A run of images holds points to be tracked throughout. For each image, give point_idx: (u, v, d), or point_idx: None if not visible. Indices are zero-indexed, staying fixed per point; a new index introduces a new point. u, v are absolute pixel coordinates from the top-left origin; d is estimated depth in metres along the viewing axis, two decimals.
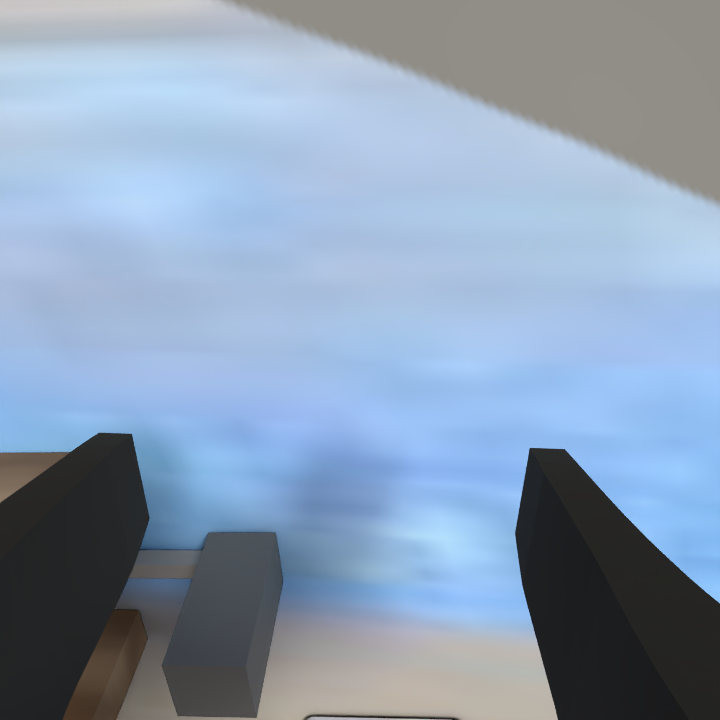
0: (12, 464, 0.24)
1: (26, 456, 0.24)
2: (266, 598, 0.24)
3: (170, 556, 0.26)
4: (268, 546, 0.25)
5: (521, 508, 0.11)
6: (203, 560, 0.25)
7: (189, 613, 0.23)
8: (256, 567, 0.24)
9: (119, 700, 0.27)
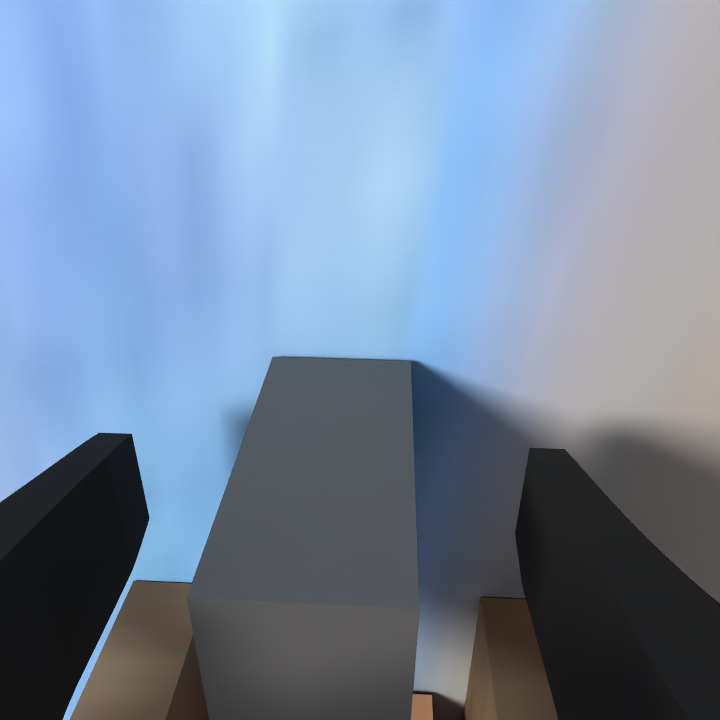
0: None
1: None
2: (289, 435, 0.10)
3: None
4: None
5: (521, 508, 0.11)
6: None
7: None
8: None
9: None
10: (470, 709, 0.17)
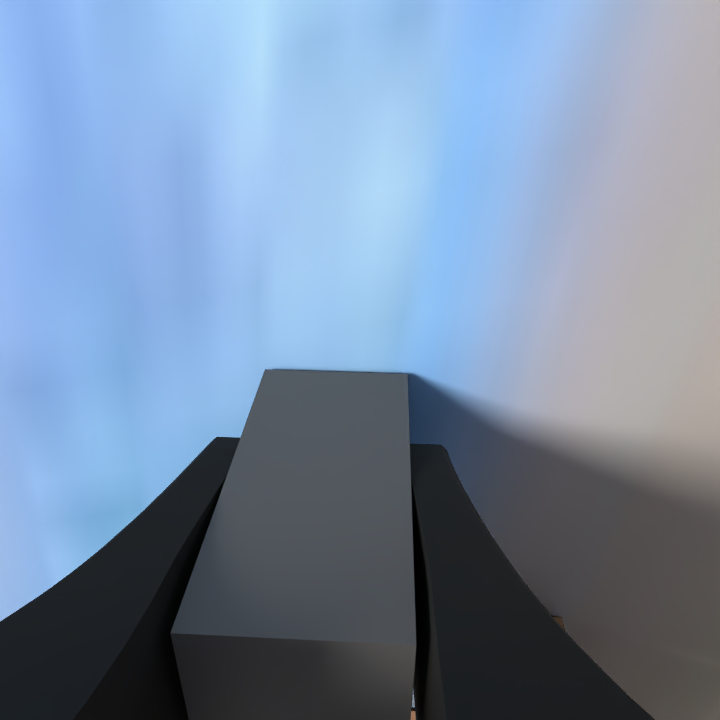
0: None
1: None
2: (281, 454, 0.10)
3: None
4: None
5: None
6: None
7: None
8: None
9: None
10: None
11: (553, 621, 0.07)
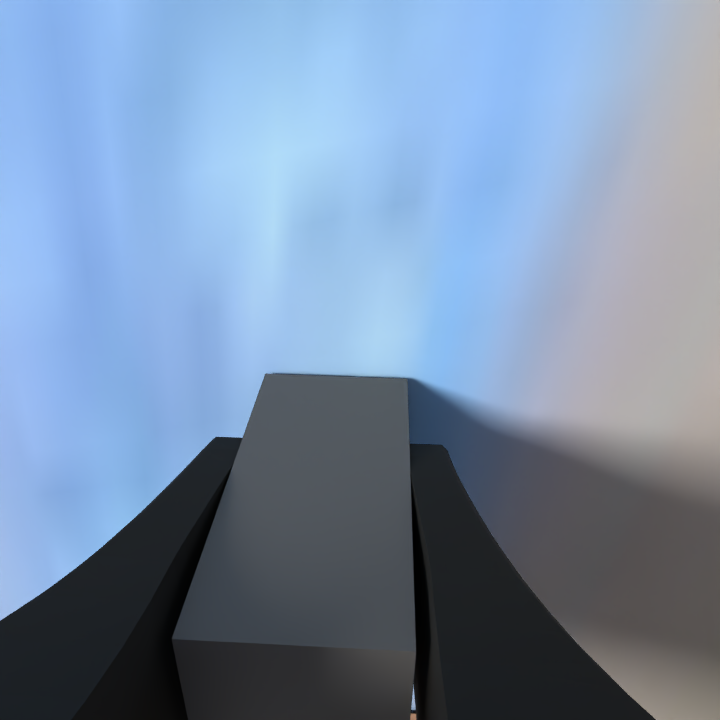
0: None
1: None
2: (282, 459, 0.10)
3: None
4: None
5: None
6: None
7: None
8: None
9: None
10: None
11: (554, 621, 0.07)
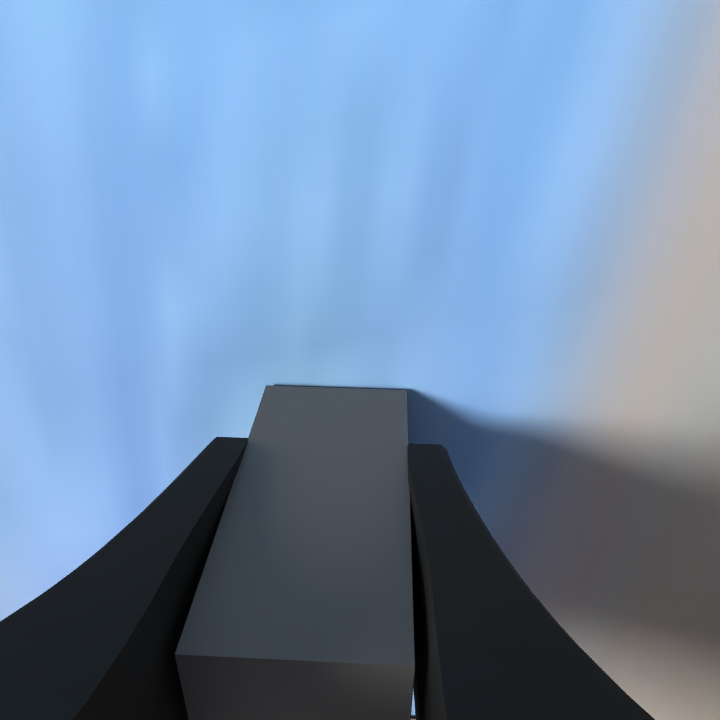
0: None
1: None
2: (282, 472, 0.10)
3: None
4: None
5: None
6: None
7: None
8: None
9: None
10: None
11: (554, 621, 0.07)
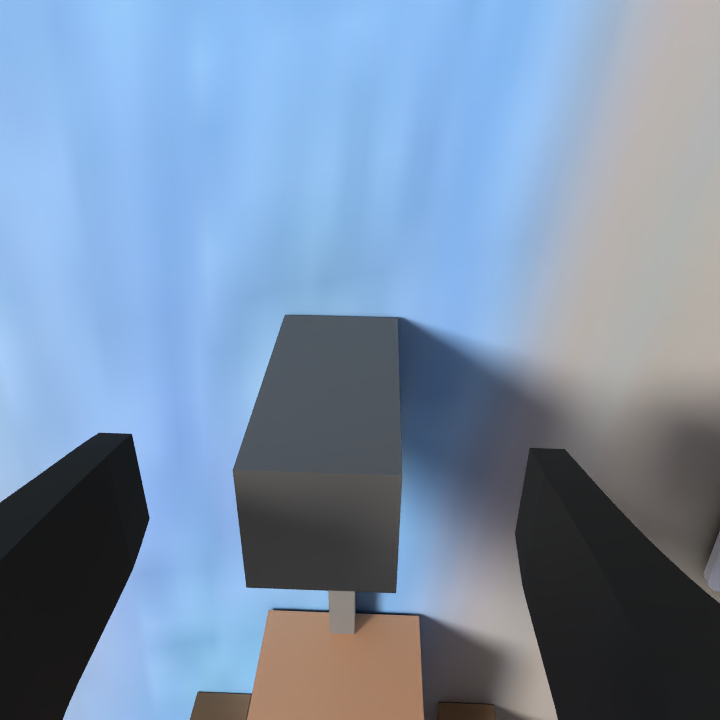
0: None
1: None
2: (302, 369, 0.13)
3: None
4: None
5: (521, 508, 0.11)
6: None
7: None
8: None
9: None
10: None
11: None
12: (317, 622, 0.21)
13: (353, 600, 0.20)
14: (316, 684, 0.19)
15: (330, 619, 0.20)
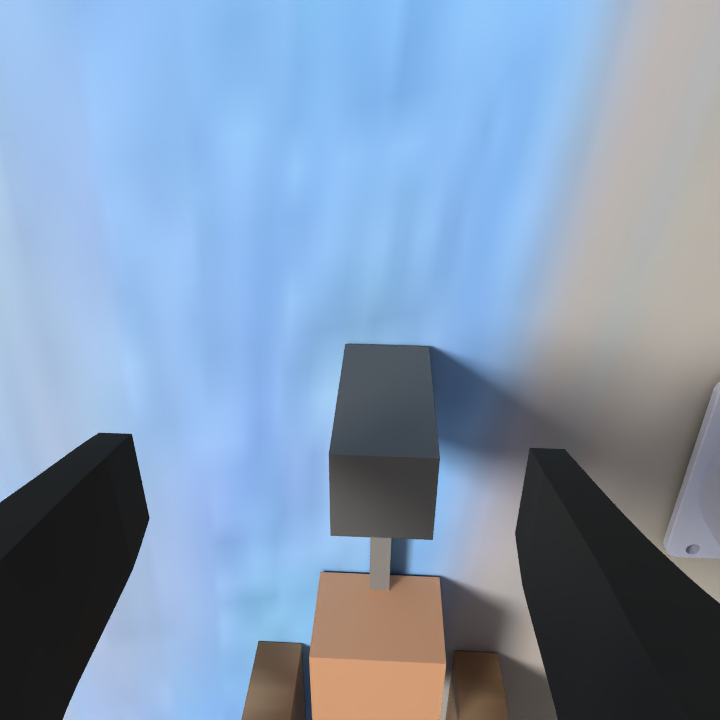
0: None
1: None
2: (364, 386, 0.19)
3: None
4: None
5: (521, 508, 0.11)
6: None
7: None
8: None
9: None
10: (449, 713, 0.30)
11: None
12: (359, 581, 0.26)
13: (389, 562, 0.25)
14: (361, 626, 0.24)
15: (370, 578, 0.26)
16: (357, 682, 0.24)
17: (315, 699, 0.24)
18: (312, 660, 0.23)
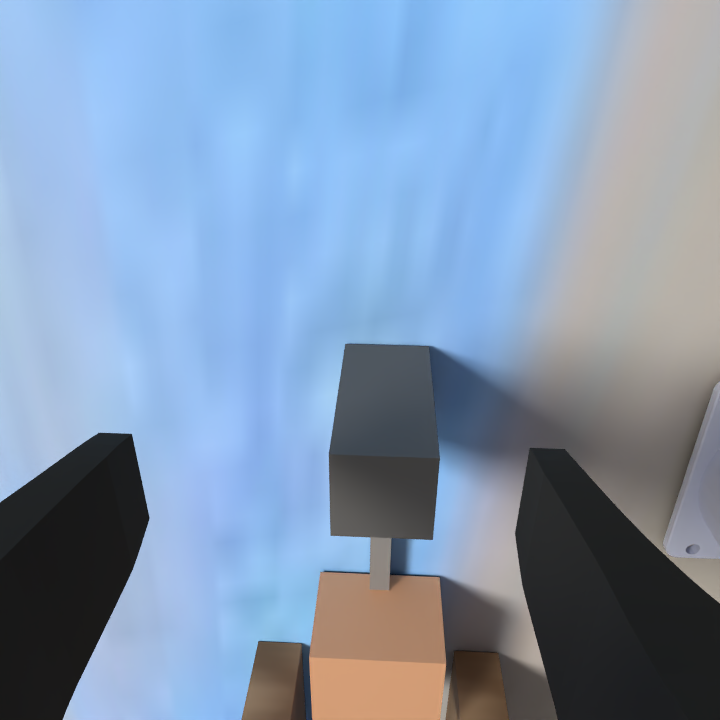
0: None
1: None
2: (364, 386, 0.19)
3: None
4: None
5: (521, 508, 0.11)
6: None
7: None
8: None
9: None
10: (449, 713, 0.30)
11: None
12: (359, 581, 0.26)
13: (389, 562, 0.25)
14: (361, 626, 0.24)
15: (370, 578, 0.26)
16: (357, 682, 0.24)
17: (315, 699, 0.24)
18: (312, 660, 0.23)
